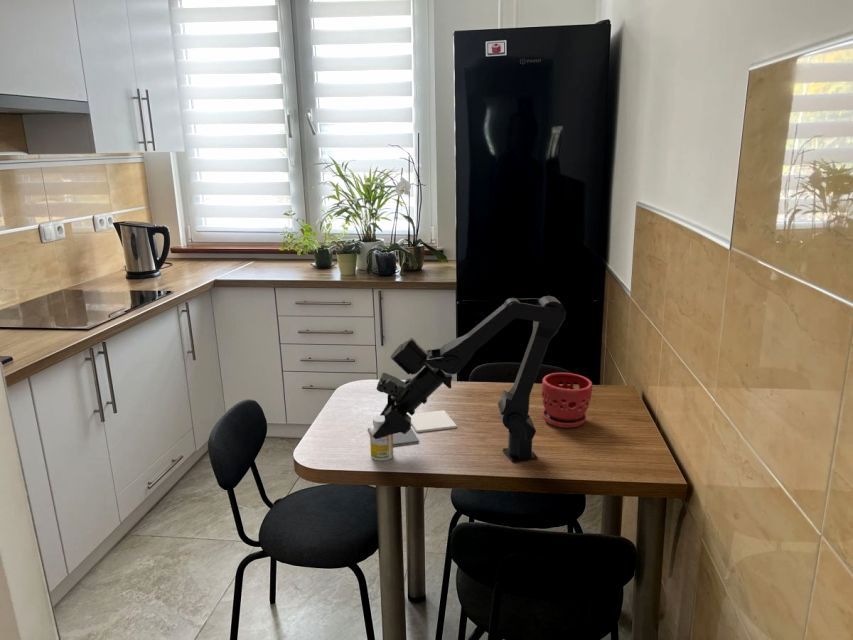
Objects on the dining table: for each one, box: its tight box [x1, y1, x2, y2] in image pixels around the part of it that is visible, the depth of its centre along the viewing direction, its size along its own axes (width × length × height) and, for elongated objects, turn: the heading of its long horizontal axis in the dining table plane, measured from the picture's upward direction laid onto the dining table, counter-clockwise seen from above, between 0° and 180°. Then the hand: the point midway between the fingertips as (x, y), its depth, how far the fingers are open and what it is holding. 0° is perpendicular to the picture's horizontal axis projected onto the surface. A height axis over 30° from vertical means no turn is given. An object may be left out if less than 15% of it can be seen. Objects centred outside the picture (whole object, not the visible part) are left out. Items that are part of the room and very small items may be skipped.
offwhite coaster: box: [407, 409, 458, 433], centre depth 174 cm, size 11×11×1 cm
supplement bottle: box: [369, 415, 394, 461], centre depth 153 cm, size 5×5×10 cm
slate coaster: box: [367, 427, 420, 447], centre depth 165 cm, size 11×11×1 cm
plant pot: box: [541, 372, 593, 428], centre depth 172 cm, size 13×13×12 cm
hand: (375, 430), depth 153 cm, fingers open, 8 cm apart
